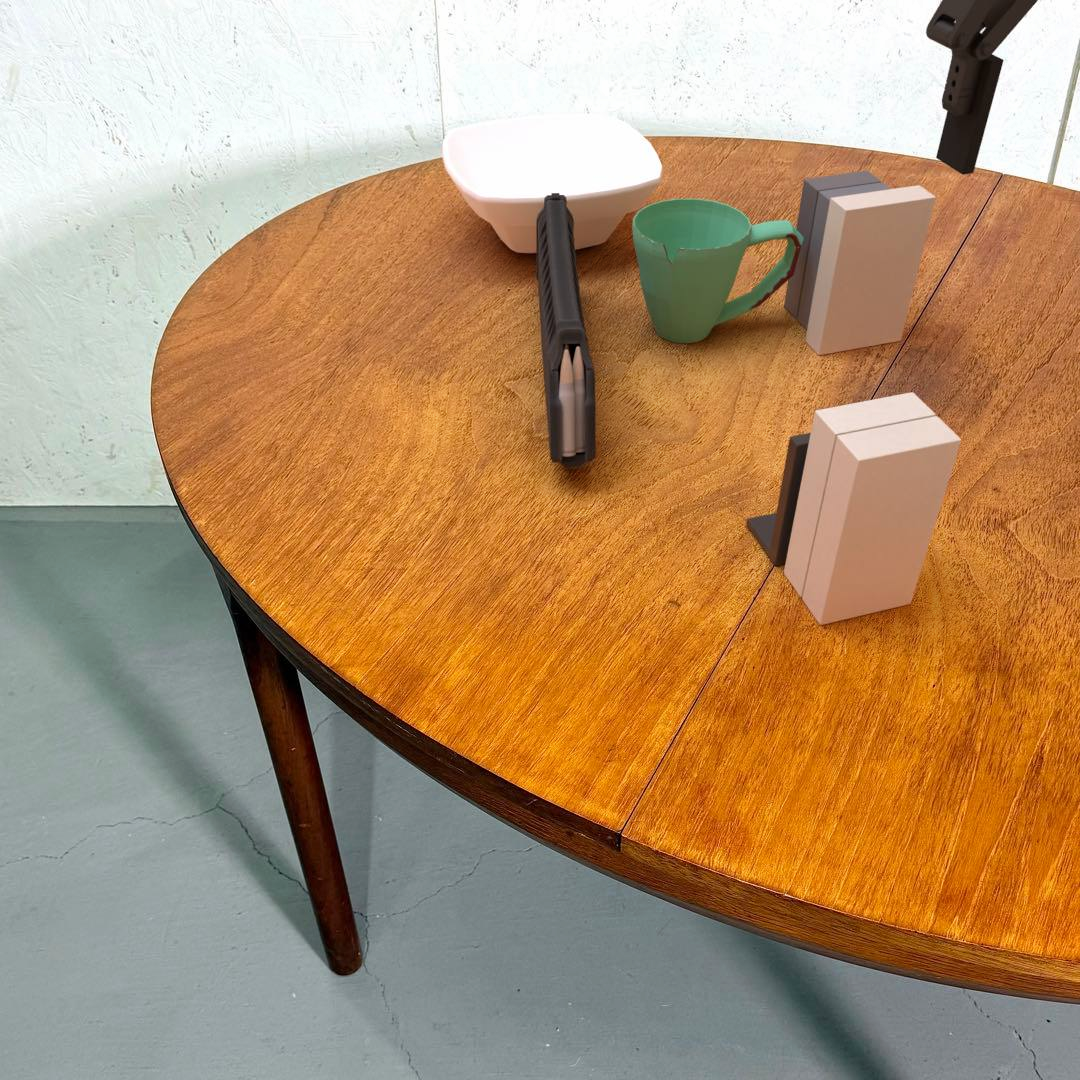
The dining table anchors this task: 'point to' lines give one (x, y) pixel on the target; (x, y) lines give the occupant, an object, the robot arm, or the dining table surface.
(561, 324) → the magazine
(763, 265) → the dining table surface
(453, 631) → the dining table surface
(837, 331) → the thin book
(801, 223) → the grey books
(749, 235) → the mug
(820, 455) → the white books
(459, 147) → the bowl
